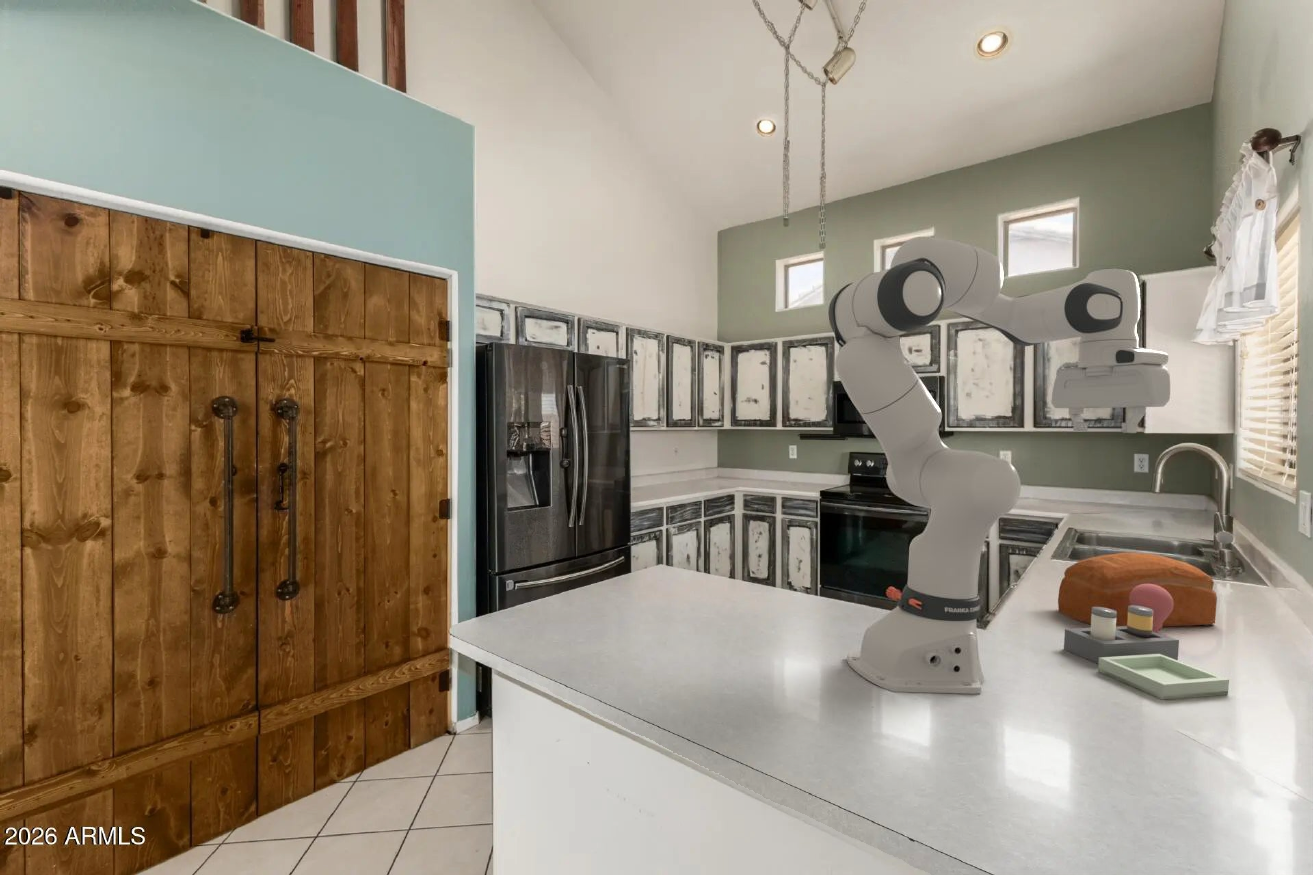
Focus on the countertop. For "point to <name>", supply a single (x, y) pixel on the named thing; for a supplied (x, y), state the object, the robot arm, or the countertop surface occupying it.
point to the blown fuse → (1140, 621)
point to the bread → (1121, 573)
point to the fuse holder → (1118, 644)
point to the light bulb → (1153, 602)
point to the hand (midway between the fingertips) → (1103, 432)
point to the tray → (1163, 676)
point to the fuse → (1103, 623)
